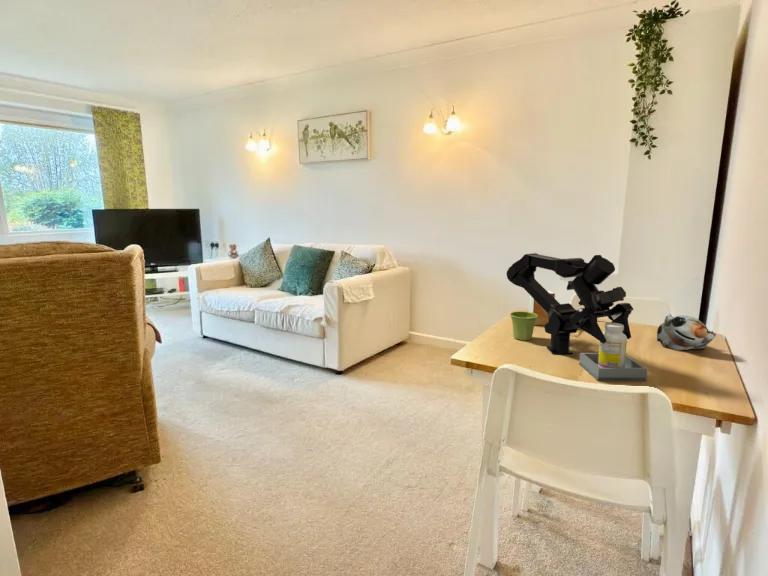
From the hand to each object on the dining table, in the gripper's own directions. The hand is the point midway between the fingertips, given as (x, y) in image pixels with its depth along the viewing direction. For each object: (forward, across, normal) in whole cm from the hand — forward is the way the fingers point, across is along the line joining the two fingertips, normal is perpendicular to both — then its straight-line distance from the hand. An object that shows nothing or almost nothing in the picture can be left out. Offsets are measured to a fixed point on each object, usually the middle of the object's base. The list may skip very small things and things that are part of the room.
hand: (617, 340), depth 119 cm
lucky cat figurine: (+2, +39, +12) cm, 41 cm away
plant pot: (-19, -2, +33) cm, 38 cm away
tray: (+6, 0, +8) cm, 10 cm away
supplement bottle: (+5, 0, +7) cm, 9 cm away
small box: (-28, +17, +42) cm, 53 cm away
